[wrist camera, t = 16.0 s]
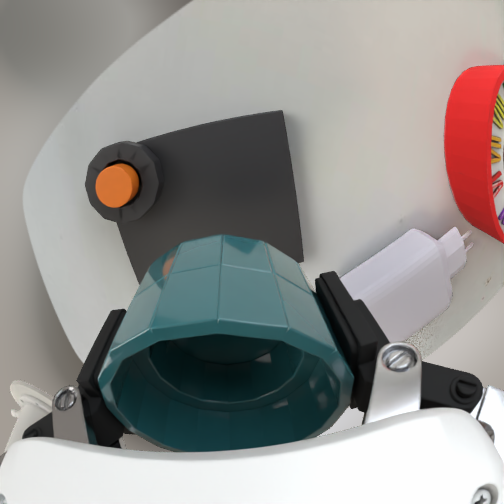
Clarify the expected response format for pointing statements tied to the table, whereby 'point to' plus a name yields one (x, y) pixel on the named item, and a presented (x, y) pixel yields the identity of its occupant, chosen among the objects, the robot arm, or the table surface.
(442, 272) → the charger
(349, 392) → the bowl
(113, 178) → the button
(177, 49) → the table surface
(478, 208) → the toy clock
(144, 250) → the dark grey flat slab
